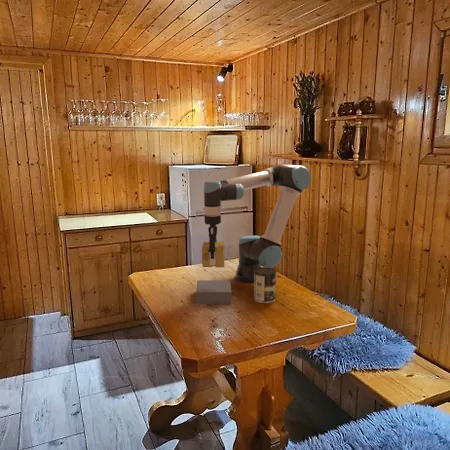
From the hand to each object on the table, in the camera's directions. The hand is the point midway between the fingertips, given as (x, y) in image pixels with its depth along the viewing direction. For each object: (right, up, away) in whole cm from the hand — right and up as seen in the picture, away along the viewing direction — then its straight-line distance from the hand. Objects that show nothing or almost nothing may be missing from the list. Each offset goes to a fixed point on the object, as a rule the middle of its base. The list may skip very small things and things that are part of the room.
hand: (213, 261), depth 190 cm
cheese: (0, -2, 0) cm, 2 cm away
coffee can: (+24, -18, +1) cm, 30 cm away
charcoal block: (0, -18, +4) cm, 18 cm away
